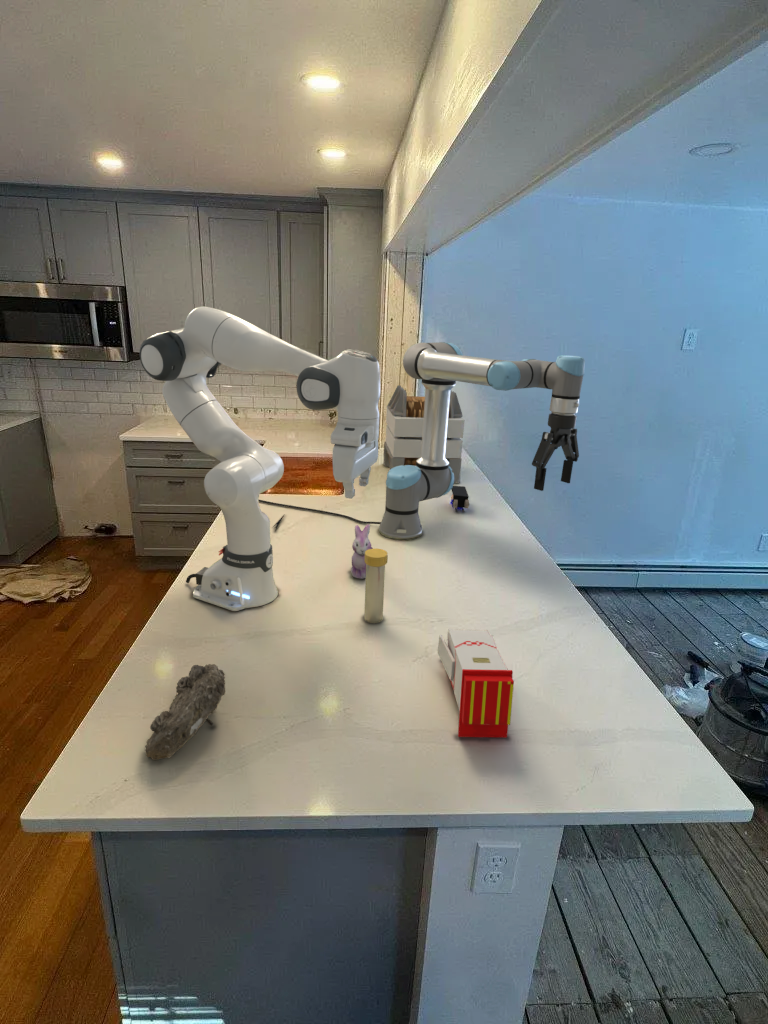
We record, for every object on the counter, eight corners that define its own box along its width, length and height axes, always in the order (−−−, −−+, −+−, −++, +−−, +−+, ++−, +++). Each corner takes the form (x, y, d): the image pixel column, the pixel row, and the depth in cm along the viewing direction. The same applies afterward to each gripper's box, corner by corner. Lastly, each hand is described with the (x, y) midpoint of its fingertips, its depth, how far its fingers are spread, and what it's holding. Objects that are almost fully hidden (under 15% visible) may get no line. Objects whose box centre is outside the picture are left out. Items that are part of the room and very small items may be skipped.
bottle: (384, 615, 147) (387, 552, 141) (380, 624, 142) (383, 559, 136) (366, 612, 148) (369, 549, 141) (362, 621, 143) (364, 557, 137)
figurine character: (469, 517, 223) (463, 501, 236) (471, 500, 219) (465, 484, 233) (452, 516, 222) (447, 500, 236) (454, 499, 219) (449, 483, 232)
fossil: (174, 665, 116) (226, 633, 111) (207, 696, 118) (259, 665, 113) (119, 753, 96) (179, 718, 91) (161, 787, 99) (221, 755, 94)
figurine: (357, 582, 163) (358, 534, 158) (342, 568, 171) (343, 521, 166) (386, 576, 167) (388, 529, 162) (370, 563, 176) (372, 517, 171)
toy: (488, 613, 130) (523, 677, 101) (484, 667, 133) (517, 744, 104) (435, 612, 130) (455, 676, 101) (432, 666, 133) (451, 743, 103)
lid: (389, 558, 142) (389, 549, 141) (384, 568, 136) (385, 559, 136) (367, 555, 143) (367, 547, 142) (361, 565, 137) (362, 556, 137)
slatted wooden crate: (382, 463, 289) (386, 382, 275) (445, 464, 293) (451, 384, 279) (390, 482, 257) (394, 392, 243) (460, 483, 261) (468, 394, 247)
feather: (291, 508, 223) (294, 504, 222) (274, 533, 196) (277, 528, 195) (287, 506, 222) (290, 502, 222) (270, 530, 196) (272, 526, 195)
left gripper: (359, 420, 131) (358, 477, 136) (327, 437, 113) (326, 503, 117) (386, 422, 129) (383, 480, 134) (357, 440, 111) (355, 507, 116)
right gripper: (548, 419, 148) (537, 496, 155) (598, 411, 163) (586, 482, 171) (525, 414, 153) (515, 489, 160) (575, 407, 169) (564, 476, 176)
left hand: (356, 491), depth 126 cm, fingers open, 8 cm apart
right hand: (552, 485), depth 166 cm, fingers open, 13 cm apart
